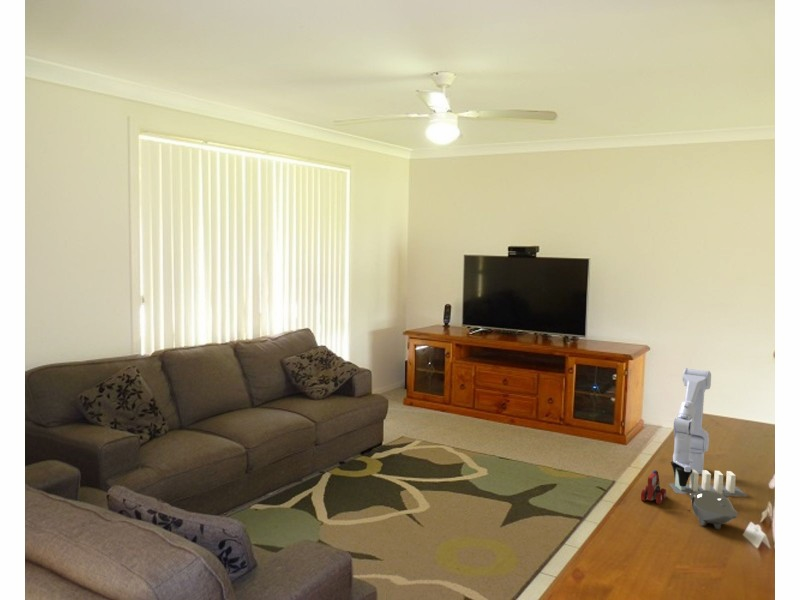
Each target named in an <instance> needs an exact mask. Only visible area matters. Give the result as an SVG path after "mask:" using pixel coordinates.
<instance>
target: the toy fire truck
mask: <svg viewBox="0 0 800 600" xmlns="http://www.w3.org/2000/svg"><path fill="white" fill-rule="evenodd" d="M660 483H661V482H660V475H659V471H658V470H653V471H652V472H651V474H650V475H649V476H648V477H647V485H645V489H644V488H643V489H642V490H641V492H640V499H641V501H643V502H646V501H647V500H648V501H654V500H655V503H656V504H657V505H661V504H662V502H663V500H665V499H666V497H667V489H665V488H661V484H660Z"/></svg>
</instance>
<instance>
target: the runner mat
mask: <svg viewBox="0 0 800 600" xmlns="http://www.w3.org/2000/svg"><path fill="white" fill-rule="evenodd" d="M667 484H668V485H669V487H670V488H671V489H672V490H673V492H674V493H675V494H677V495H678V494H680V495H689V494H690V493H697V491H693V490H692V489H691V488H690V487H689V486H690V483H687V484H686V486H685V490H680V489H678V488H677V487H676V486H675V482H674V483H672V482H671V483H670V482H669V483H667ZM701 490H703V489H702V484H698V491H701ZM710 490H712V491H716V490H715V489H714V484H713V485H712V484H710ZM716 492H717V491H716ZM722 492H728V493H730V492H729V491H728V490H727V489H726V485H723V489H722ZM729 497H742V498H743V497H744V498H748V497H749V496H748V495H747V494H746V493H745V492H744V491H742V489H740V487H738V486H736V485H735V493H730V496H729Z"/></svg>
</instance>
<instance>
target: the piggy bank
mask: <svg viewBox="0 0 800 600" xmlns="http://www.w3.org/2000/svg"><path fill="white" fill-rule="evenodd" d="M688 495H689V498H690V500H691V509H692V511H693V514H694V515H695V517H696V518H697V519H698V520H699V521H698V523H699V526H701V527H705V526H707V524H712V526H713V528H714V529H715V530H721V527H722V525H724V524H727V523H729V522H731V521H732V520H735V519H737V517H738V510H736V509H735V508H734V505H733V504H732V502H731V501H730V499H729V497H731V496H730V493H728V492H722V493H719V492H716V491H712V490H701V491H698V492H697V493H690V494H688Z"/></svg>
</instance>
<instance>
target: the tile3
mask: <svg viewBox="0 0 800 600" xmlns="http://www.w3.org/2000/svg"><path fill="white" fill-rule="evenodd" d="M711 478H712V474H711V472H709V471H708V470H706V469H703V470H702V474H701V485H702V489H703V490H710V485H712V483H711V480H712V479H711Z"/></svg>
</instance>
